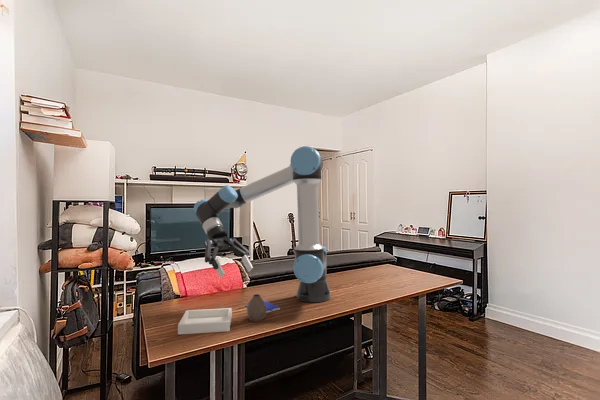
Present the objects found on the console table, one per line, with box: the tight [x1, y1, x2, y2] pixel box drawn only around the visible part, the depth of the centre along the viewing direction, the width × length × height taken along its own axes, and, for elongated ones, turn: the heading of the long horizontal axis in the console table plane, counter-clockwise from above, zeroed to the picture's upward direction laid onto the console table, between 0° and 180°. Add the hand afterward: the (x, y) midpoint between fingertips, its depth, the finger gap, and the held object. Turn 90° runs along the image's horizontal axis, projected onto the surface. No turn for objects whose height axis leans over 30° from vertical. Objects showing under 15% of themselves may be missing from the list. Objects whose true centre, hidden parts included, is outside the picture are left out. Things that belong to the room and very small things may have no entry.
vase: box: [246, 293, 267, 322], centre depth 111 cm, size 7×7×9 cm
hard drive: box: [245, 299, 281, 314], centre depth 124 cm, size 2×8×12 cm
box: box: [177, 307, 233, 335], centre depth 106 cm, size 16×14×3 cm
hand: (237, 272), depth 118 cm, fingers open, 13 cm apart
